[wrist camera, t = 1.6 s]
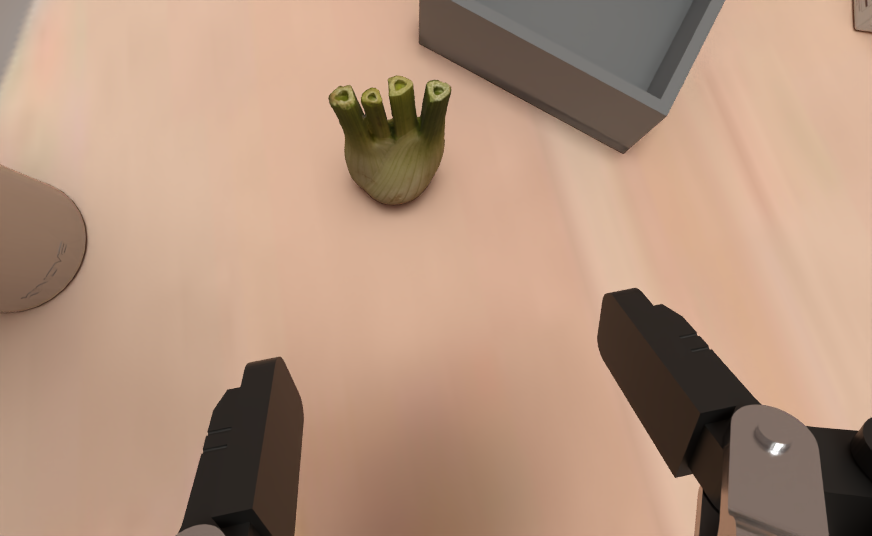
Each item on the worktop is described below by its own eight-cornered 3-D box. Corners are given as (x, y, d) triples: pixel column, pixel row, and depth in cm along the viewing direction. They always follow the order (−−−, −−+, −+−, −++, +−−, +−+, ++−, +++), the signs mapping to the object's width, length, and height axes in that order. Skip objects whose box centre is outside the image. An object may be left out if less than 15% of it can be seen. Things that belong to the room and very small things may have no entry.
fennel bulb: (444, 163, 34) (461, 69, 22) (420, 223, 33) (424, 161, 21) (371, 135, 34) (347, 26, 22) (345, 195, 33) (306, 117, 21)
